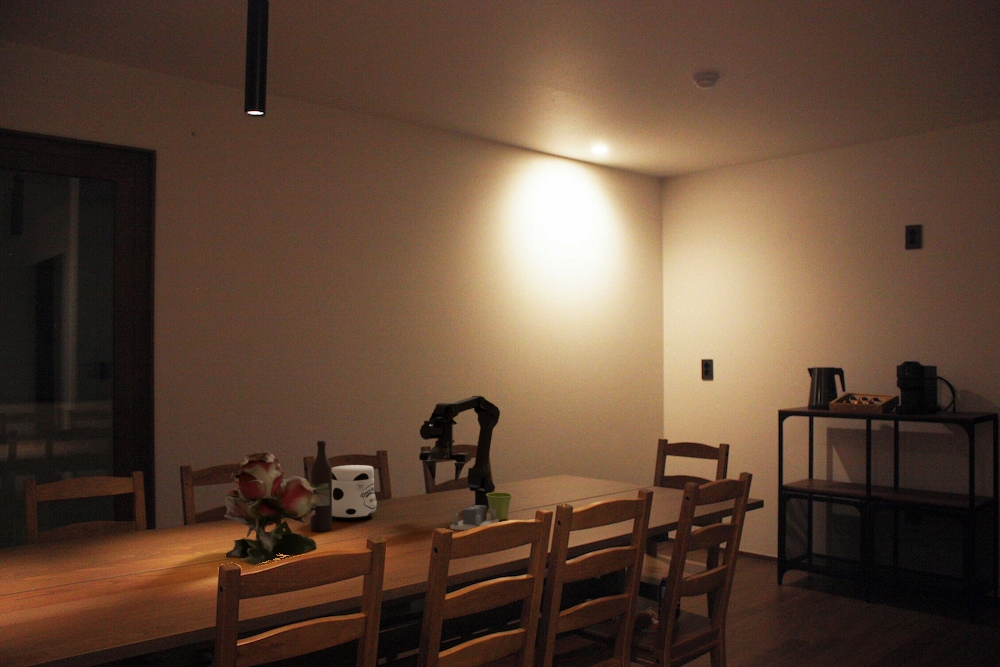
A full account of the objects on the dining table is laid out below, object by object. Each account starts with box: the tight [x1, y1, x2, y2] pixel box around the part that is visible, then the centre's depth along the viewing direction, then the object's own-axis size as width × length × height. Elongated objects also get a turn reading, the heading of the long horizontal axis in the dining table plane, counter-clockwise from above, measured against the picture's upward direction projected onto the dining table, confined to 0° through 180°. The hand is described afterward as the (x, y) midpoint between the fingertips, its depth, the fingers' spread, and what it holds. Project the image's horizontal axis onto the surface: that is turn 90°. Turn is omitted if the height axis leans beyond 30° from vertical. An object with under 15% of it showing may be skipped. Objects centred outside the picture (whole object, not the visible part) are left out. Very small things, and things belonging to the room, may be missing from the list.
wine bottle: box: [309, 439, 333, 533], centre depth 268 cm, size 7×7×30 cm
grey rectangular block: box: [462, 504, 488, 525], centre depth 274 cm, size 9×5×5 cm, turn 159°
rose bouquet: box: [223, 450, 321, 566], centre depth 240 cm, size 26×29×30 cm
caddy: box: [449, 509, 500, 531], centre depth 274 cm, size 16×11×5 cm
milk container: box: [331, 464, 378, 521], centre depth 289 cm, size 17×17×18 cm
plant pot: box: [486, 491, 513, 521], centre depth 286 cm, size 9×9×9 cm
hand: (445, 480), depth 291 cm, fingers open, 9 cm apart
